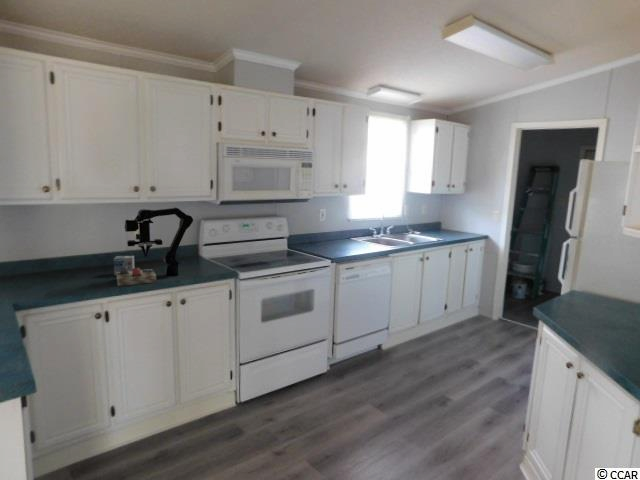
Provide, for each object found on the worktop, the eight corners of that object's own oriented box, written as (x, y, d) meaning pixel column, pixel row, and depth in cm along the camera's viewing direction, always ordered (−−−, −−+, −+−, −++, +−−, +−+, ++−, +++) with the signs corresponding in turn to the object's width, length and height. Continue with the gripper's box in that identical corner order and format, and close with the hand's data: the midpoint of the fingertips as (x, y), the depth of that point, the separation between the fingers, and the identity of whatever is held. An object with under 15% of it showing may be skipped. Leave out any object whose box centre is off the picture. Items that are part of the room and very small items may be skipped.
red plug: (140, 275, 234) (139, 267, 233) (140, 276, 231) (140, 269, 230) (132, 275, 232) (132, 268, 232) (133, 277, 229) (132, 269, 228)
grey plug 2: (149, 276, 244) (149, 268, 244) (150, 277, 241) (150, 270, 240) (142, 276, 242) (142, 269, 242) (143, 278, 239) (143, 270, 238)
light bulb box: (114, 275, 246) (113, 258, 244) (116, 272, 252) (115, 256, 250) (133, 274, 249) (132, 257, 247) (135, 272, 255) (134, 255, 253)
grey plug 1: (127, 273, 238) (127, 265, 238) (128, 274, 235) (127, 267, 234) (120, 273, 236) (119, 266, 236) (120, 275, 233) (120, 267, 232)
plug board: (153, 275, 247) (152, 269, 247) (156, 282, 233) (156, 275, 233) (116, 279, 238) (116, 272, 237) (117, 285, 224) (117, 278, 223)
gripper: (159, 228, 249) (160, 253, 251) (126, 229, 240) (127, 255, 242) (162, 231, 239) (162, 256, 241) (127, 232, 230) (128, 259, 233)
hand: (145, 256), depth 240 cm, fingers closed
